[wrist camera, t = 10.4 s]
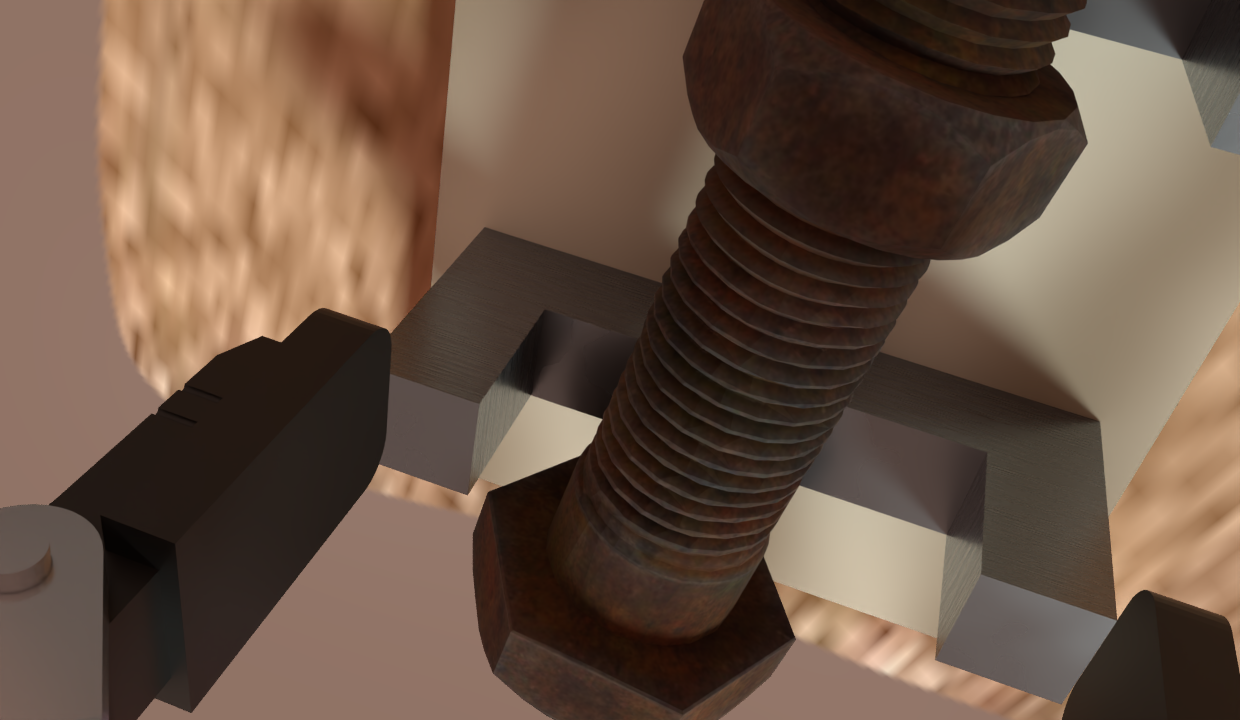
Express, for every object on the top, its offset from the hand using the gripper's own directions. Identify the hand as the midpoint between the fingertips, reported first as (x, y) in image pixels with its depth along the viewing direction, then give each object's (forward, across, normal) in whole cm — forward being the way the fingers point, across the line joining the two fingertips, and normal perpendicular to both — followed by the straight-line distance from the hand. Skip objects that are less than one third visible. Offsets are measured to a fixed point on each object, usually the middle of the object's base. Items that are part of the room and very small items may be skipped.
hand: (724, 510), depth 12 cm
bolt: (+7, 0, 0) cm, 7 cm away
